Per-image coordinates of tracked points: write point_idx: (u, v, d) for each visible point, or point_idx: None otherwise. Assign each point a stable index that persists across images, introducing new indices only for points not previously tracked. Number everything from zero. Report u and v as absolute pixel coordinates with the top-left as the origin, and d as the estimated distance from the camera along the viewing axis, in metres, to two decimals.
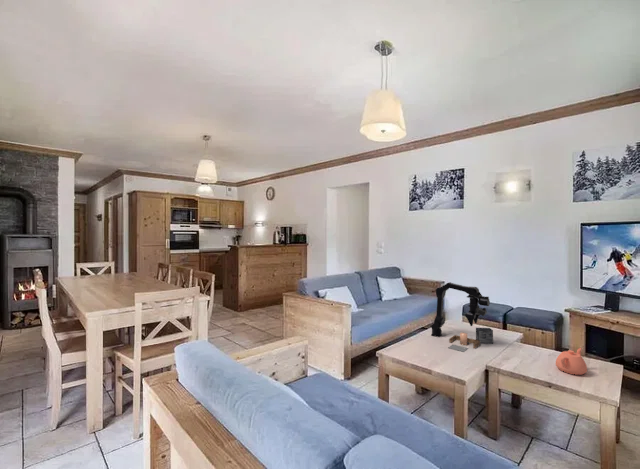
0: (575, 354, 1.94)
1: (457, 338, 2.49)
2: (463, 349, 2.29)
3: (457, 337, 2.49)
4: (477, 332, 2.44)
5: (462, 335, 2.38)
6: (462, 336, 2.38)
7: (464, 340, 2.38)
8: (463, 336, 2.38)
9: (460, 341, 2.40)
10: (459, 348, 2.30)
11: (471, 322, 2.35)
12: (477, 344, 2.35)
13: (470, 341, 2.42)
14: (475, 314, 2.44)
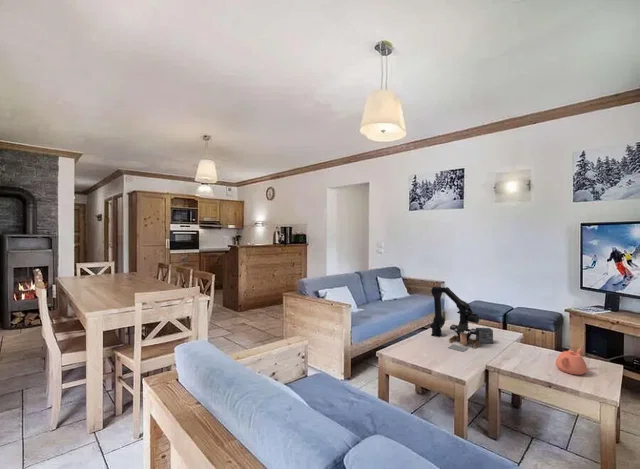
0: (575, 354, 1.94)
1: (457, 338, 2.49)
2: (463, 349, 2.29)
3: (457, 337, 2.49)
4: None
5: (462, 335, 2.38)
6: (462, 336, 2.38)
7: (464, 340, 2.38)
8: (463, 336, 2.38)
9: (460, 341, 2.40)
10: (459, 348, 2.30)
11: None
12: (477, 344, 2.35)
13: (470, 341, 2.42)
14: (468, 332, 2.38)
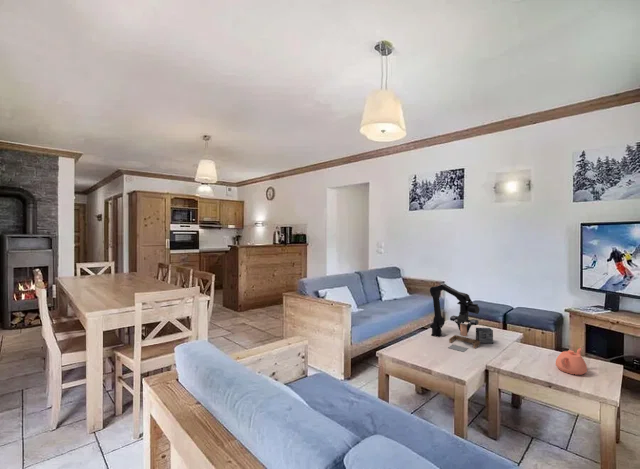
0: (575, 354, 1.94)
1: (457, 338, 2.49)
2: (463, 349, 2.29)
3: (457, 337, 2.49)
4: (477, 332, 2.44)
5: (462, 326, 2.38)
6: (462, 327, 2.38)
7: (464, 331, 2.37)
8: (463, 327, 2.38)
9: (460, 332, 2.40)
10: (459, 348, 2.30)
11: None
12: (477, 344, 2.35)
13: (470, 341, 2.42)
14: None
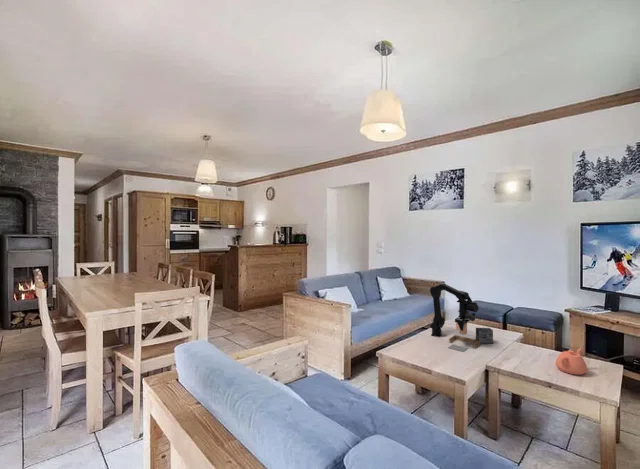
0: (575, 354, 1.94)
1: (457, 338, 2.49)
2: (463, 349, 2.29)
3: (457, 337, 2.49)
4: (477, 332, 2.44)
5: (466, 324, 2.37)
6: (466, 325, 2.37)
7: None
8: (466, 325, 2.38)
9: (465, 331, 2.36)
10: (459, 348, 2.30)
11: (461, 327, 2.36)
12: (477, 344, 2.35)
13: (470, 341, 2.42)
14: None
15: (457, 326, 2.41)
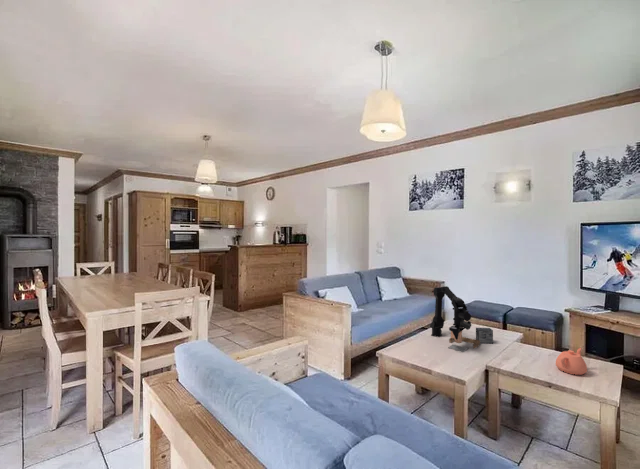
0: (575, 354, 1.94)
1: None
2: (463, 349, 2.29)
3: None
4: (477, 332, 2.44)
5: (461, 332, 2.30)
6: (461, 334, 2.30)
7: None
8: (461, 333, 2.30)
9: (459, 340, 2.29)
10: (459, 348, 2.30)
11: (456, 335, 2.29)
12: (477, 344, 2.35)
13: (470, 341, 2.42)
14: (459, 328, 2.34)
15: (452, 334, 2.34)
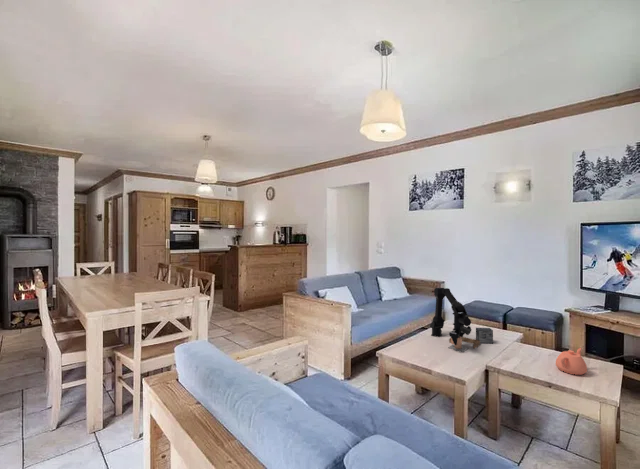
0: (575, 354, 1.94)
1: None
2: (463, 349, 2.29)
3: None
4: (477, 332, 2.44)
5: (461, 338, 2.30)
6: (461, 339, 2.30)
7: None
8: (461, 339, 2.30)
9: (459, 346, 2.29)
10: None
11: (455, 341, 2.27)
12: (477, 344, 2.35)
13: (470, 341, 2.42)
14: (460, 332, 2.35)
15: (452, 340, 2.34)
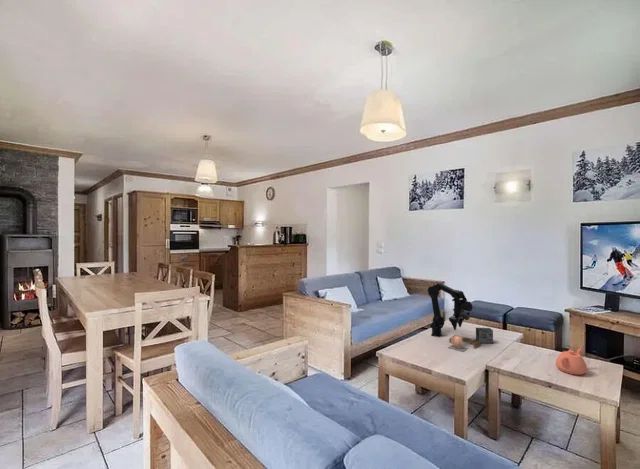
0: (575, 354, 1.94)
1: None
2: (463, 349, 2.29)
3: None
4: (477, 332, 2.44)
5: (461, 338, 2.30)
6: (461, 339, 2.30)
7: None
8: (461, 339, 2.30)
9: (459, 346, 2.29)
10: None
11: (455, 326, 2.36)
12: (477, 344, 2.35)
13: (470, 341, 2.42)
14: (460, 318, 2.44)
15: (452, 340, 2.34)
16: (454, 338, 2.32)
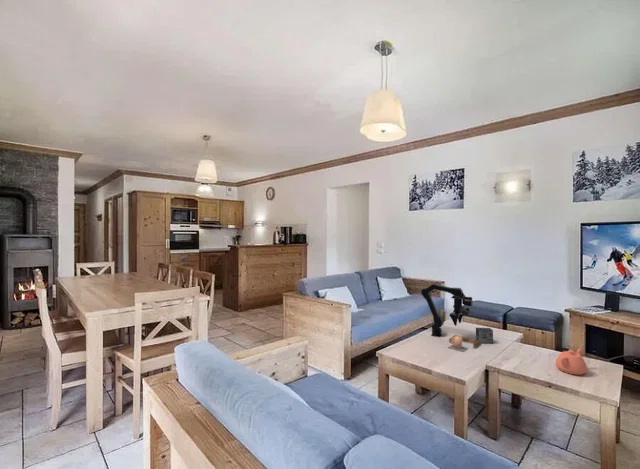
0: (575, 354, 1.94)
1: None
2: (463, 349, 2.29)
3: None
4: (477, 332, 2.44)
5: (461, 338, 2.30)
6: (461, 340, 2.30)
7: None
8: (461, 339, 2.30)
9: (459, 346, 2.29)
10: None
11: (455, 322, 2.45)
12: (477, 344, 2.35)
13: (470, 341, 2.42)
14: (459, 314, 2.53)
15: (452, 340, 2.34)
16: (454, 338, 2.32)
